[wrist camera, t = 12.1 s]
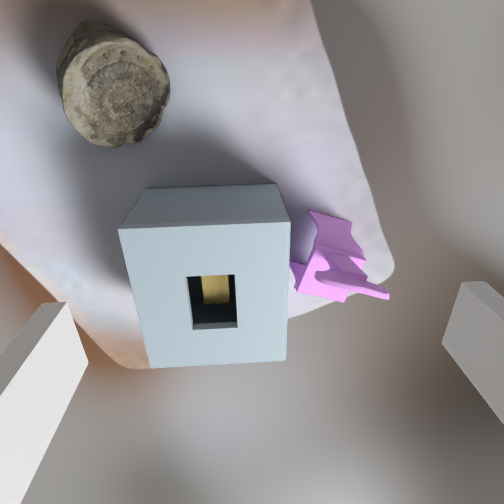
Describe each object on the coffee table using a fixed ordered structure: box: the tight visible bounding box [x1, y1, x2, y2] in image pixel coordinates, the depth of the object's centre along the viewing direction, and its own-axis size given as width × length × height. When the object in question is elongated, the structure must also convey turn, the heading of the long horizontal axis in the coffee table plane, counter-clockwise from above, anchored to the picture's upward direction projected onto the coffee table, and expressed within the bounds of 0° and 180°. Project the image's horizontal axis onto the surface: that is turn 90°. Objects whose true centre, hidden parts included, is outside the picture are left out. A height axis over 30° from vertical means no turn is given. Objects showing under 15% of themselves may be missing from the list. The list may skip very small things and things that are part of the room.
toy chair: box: [289, 211, 389, 303], centre depth 40 cm, size 8×9×15 cm
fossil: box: [57, 21, 170, 148], centre depth 33 cm, size 11×9×10 cm
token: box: [201, 275, 230, 304], centre depth 42 cm, size 5×3×8 cm, turn 1°
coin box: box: [118, 183, 291, 368], centre depth 41 cm, size 18×16×12 cm
